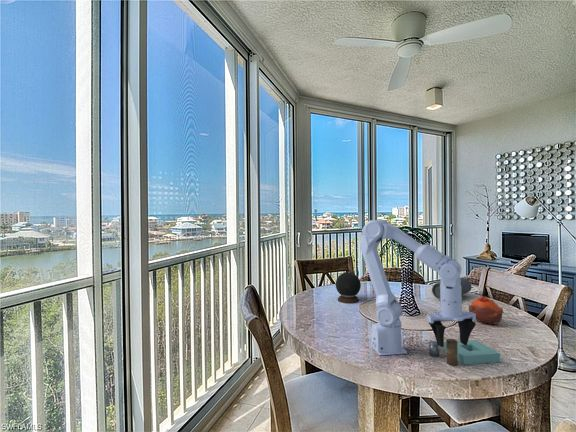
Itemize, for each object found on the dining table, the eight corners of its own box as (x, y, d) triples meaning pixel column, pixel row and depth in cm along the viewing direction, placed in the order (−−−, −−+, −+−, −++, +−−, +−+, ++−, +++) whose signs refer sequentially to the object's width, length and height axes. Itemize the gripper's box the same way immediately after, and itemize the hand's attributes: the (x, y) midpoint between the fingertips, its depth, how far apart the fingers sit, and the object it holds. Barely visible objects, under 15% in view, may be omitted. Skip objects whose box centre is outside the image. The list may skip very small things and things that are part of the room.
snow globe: (363, 303, 155) (363, 274, 155) (337, 304, 155) (337, 275, 155) (358, 296, 168) (357, 269, 168) (334, 297, 168) (333, 270, 168)
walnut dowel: (450, 366, 90) (450, 343, 90) (444, 361, 93) (444, 339, 93) (460, 365, 90) (459, 342, 90) (453, 361, 93) (453, 338, 93)
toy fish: (466, 323, 125) (465, 295, 125) (472, 316, 132) (471, 290, 132) (501, 330, 116) (500, 300, 116) (505, 322, 124) (505, 295, 124)
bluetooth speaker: (455, 293, 171) (455, 275, 171) (472, 296, 163) (472, 278, 163) (430, 299, 160) (430, 280, 160) (447, 303, 152) (447, 283, 151)
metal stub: (432, 357, 96) (432, 345, 96) (427, 353, 99) (427, 341, 99) (441, 357, 96) (441, 344, 96) (435, 352, 99) (435, 340, 99)
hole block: (463, 364, 91) (463, 356, 91) (443, 349, 101) (442, 342, 101) (500, 361, 92) (499, 353, 92) (476, 347, 102) (476, 340, 102)
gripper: (436, 305, 87) (437, 352, 87) (482, 302, 89) (484, 348, 89) (422, 298, 94) (423, 342, 94) (466, 295, 96) (467, 338, 96)
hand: (452, 344), depth 92 cm, fingers open, 7 cm apart
